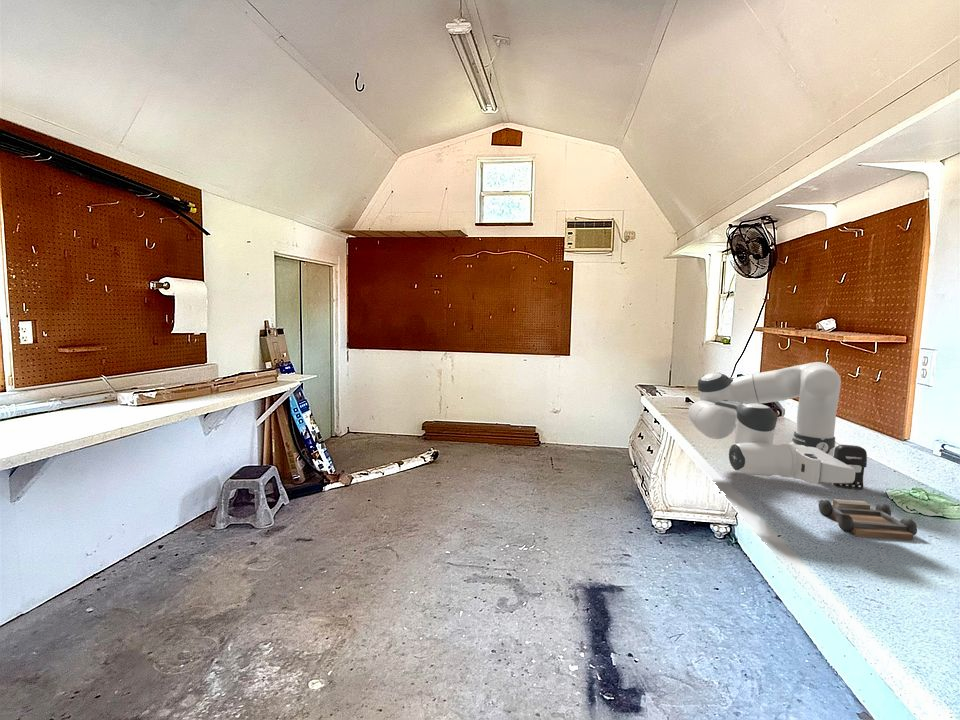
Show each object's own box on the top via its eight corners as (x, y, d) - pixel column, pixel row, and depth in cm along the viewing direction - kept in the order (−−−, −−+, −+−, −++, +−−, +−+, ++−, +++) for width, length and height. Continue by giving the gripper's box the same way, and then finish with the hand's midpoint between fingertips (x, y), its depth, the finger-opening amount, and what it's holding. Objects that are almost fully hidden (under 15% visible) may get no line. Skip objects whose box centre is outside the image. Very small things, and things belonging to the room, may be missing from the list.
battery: (836, 488, 131) (838, 445, 131) (830, 485, 135) (832, 443, 134) (867, 492, 129) (869, 448, 129) (860, 488, 133) (862, 445, 133)
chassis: (815, 509, 144) (816, 495, 143) (877, 513, 141) (879, 499, 141) (849, 535, 127) (850, 520, 127) (920, 541, 125) (922, 525, 124)
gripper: (778, 460, 144) (831, 464, 142) (814, 486, 124) (876, 490, 122) (780, 439, 144) (833, 442, 142) (817, 461, 123) (879, 465, 121)
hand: (853, 465), depth 132 cm, fingers closed on battery, 4 cm apart
